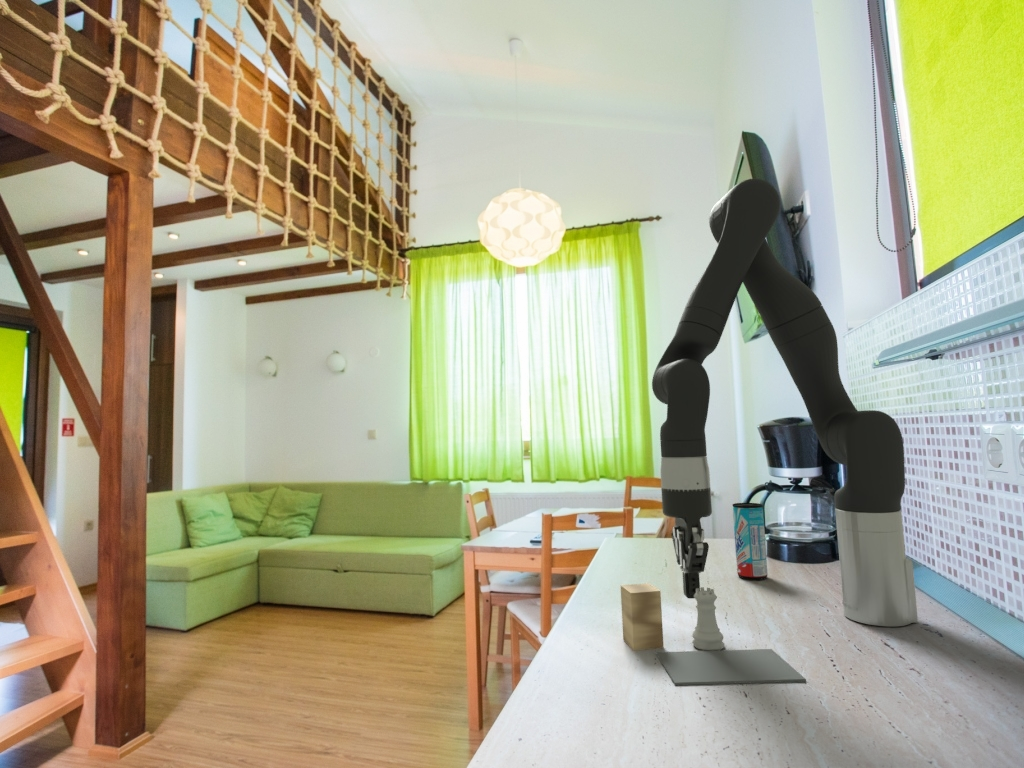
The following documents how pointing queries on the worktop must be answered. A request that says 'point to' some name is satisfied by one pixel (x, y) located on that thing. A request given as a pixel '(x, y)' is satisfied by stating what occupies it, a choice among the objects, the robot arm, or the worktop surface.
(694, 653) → the mat
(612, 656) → the worktop surface
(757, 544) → the beverage can
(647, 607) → the oak block
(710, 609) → the rook chess piece
